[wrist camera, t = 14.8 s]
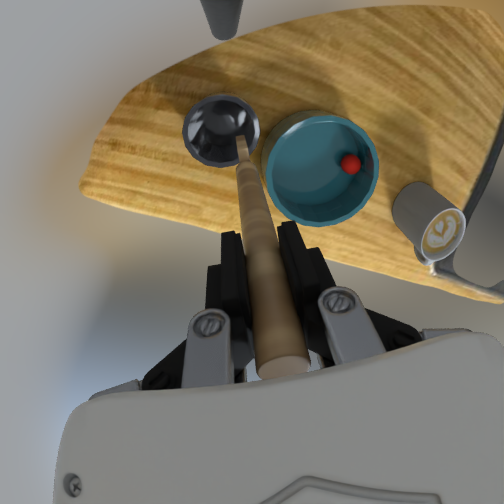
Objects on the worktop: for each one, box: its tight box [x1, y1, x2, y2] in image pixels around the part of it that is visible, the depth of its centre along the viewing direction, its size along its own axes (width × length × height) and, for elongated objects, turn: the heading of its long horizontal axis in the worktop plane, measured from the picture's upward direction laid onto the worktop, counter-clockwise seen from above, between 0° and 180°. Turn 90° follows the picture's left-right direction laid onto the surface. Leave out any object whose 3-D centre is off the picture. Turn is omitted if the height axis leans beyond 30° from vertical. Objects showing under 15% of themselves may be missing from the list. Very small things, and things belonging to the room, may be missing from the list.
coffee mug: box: [392, 182, 466, 265], centre depth 42 cm, size 13×10×10 cm
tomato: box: [341, 154, 361, 174], centre depth 38 cm, size 3×3×3 cm
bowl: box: [261, 110, 379, 227], centre depth 37 cm, size 16×16×6 cm
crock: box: [182, 91, 260, 168], centre depth 32 cm, size 8×8×9 cm
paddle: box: [236, 135, 311, 380], centre depth 17 cm, size 4×2×22 cm, turn 9°
